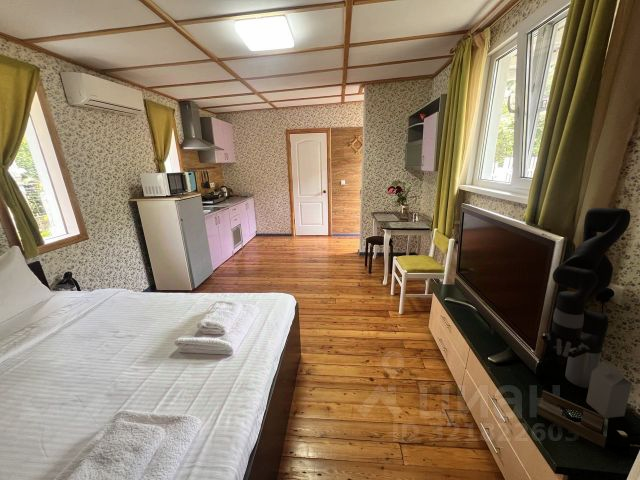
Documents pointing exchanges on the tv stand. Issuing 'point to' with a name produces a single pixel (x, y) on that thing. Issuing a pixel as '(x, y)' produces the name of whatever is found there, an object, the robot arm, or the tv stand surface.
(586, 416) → the walnut block
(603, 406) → the milk carton
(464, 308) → the tv stand surface
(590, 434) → the wooden tray
